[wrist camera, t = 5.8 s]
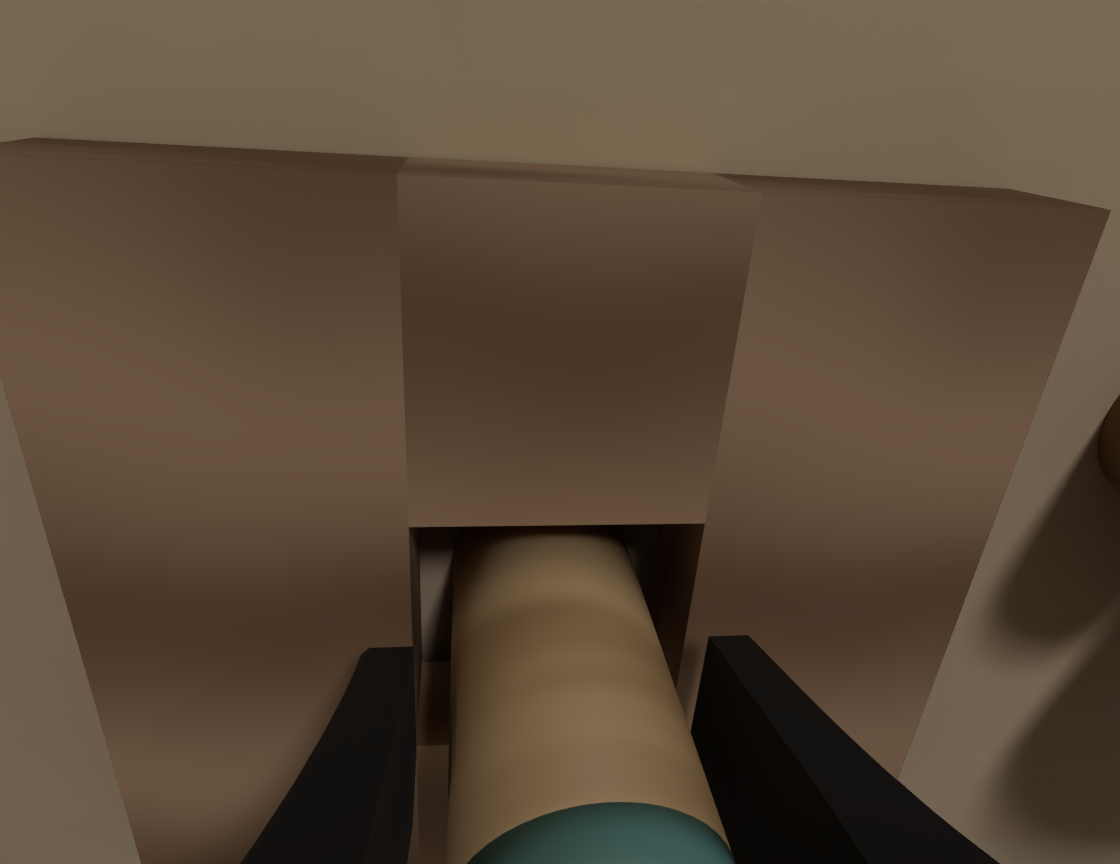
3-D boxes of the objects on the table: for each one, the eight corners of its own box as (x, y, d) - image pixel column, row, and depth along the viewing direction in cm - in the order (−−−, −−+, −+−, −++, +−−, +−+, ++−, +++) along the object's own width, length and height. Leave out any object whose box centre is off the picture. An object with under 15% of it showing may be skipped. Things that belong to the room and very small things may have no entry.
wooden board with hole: (818, 801, 17) (858, 884, 16) (197, 841, 16) (164, 940, 14) (1009, 188, 11) (1111, 210, 10) (34, 137, 10) (-64, 151, 8)
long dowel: (620, 625, 14) (740, 1050, 8) (456, 635, 14) (449, 1087, 8) (632, 484, 13) (787, 864, 7) (449, 491, 13) (434, 900, 6)
